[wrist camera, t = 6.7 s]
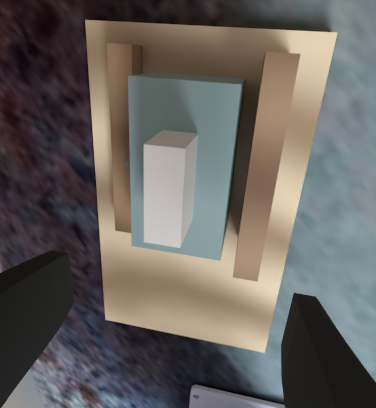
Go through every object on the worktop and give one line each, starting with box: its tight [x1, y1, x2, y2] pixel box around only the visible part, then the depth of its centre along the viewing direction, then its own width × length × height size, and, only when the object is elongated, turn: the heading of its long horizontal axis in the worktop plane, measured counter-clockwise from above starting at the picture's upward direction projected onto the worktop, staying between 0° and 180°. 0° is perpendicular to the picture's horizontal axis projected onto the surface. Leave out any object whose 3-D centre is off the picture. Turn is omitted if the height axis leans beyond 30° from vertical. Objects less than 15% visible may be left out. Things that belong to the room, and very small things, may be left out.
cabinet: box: [124, 72, 246, 261], centre depth 15 cm, size 8×5×6 cm, turn 177°
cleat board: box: [85, 20, 337, 353], centre depth 18 cm, size 20×12×5 cm, turn 177°
